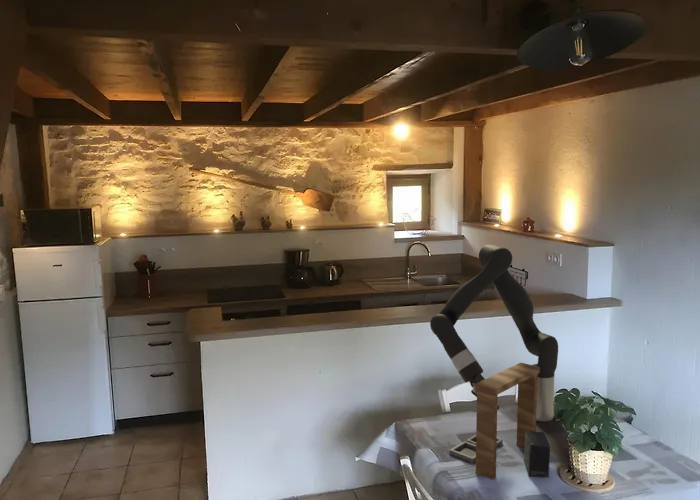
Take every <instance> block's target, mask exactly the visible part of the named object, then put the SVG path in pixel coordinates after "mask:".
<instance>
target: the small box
mask: <svg viewBox="0 0 700 500" xmlns="http://www.w3.org/2000/svg"><path fill="white" fill-rule="evenodd" d="M523 455H524V456H523V457H524V458H523V462H524V465H525V468H526V472H527V475H528V477H536V478H550V477H549V476H550V458H551V457H550V455H551V445H550V443H549V441H548V439H547V436H546V433H545V432H544V431H536V432H534V431H525V448H524V453H523Z"/></svg>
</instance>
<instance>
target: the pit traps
mask: <svg viewBox="0 0 700 500" xmlns="http://www.w3.org/2000/svg"><path fill="white" fill-rule="evenodd" d="M503 440H504V439H502V438H499V437H497V448H498V447H500V446H501V445H503ZM449 455H451V456H454V457H456V458H459V459H461V460H463V461H466V462H469V463H471V464H474V463H476V434H473V436H471V437H469V438H468V439H466V440H464V441H462V442H461V443H459V444H457V445H456V446H454V447H452V448H450V449H449Z"/></svg>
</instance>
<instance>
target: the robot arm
mask: <svg viewBox="0 0 700 500" xmlns="http://www.w3.org/2000/svg"><path fill="white" fill-rule="evenodd" d="M512 254H513V253H512V252H511V251H510V250H509V249H508V248H506V247H504V246H500V245H499V246H498V245H495V244H486V245H484V246H482V247H481V248H480V249H479V252H478V262H479V263H480V265H481V268H482V270H481V271H480V272H479V273H478V274H477V275H475V276H474V277H473V278H471V279H470V280H468V281H467V282H465V283H464V284H462V285H461V286H459V287H458V288H457V289H456V290H455V292H454V293H452V295H451V296H450V298H449V299H448V300H447V301H446V303H445V304H444V305H445V306H444V307H443V309H442V310H441V311H440V312H439V313H438V314H435V315H433V316H432V317H431V319H430V323H429V326H430V329H431V331H432V334H434V335H435V336H436V337H437V338H438V340H439V341H440V343H441V345H442V346H443V347H442V348H443V349H444V351H445V353H446V354H447V355H448V357H449V359H450V360H451V362H452V364H453V366H454V368H455V369H456V371H457V372H458V374H459V375H460V377H461V379H462V380H463V382H464V383H469V384H470V386H471V388H472V390H470V392H471V394H472V395H474V396H475V397H476V398H477V391H475V384H476V383H478V382H480V381H483V380H485V379H486V378H485V377H484V376H483V372H484V368H482V366H481V364H479V362H478V360H477V358H476V357H475V355H474V354H473V352H471V351H470V349H469V348H468V346H467V345H466V343H465V342H464V341H463V339H462V338H461V337H460V336H459V334H458V332H457V330H456V328H455V325H456V323H457V321H458V320H459V319H460V318H461V316H462V315H464V313H465V312H466V311H467V309H469V307H470V306H471V305H473V303H474V301H475V300H477V298H478V297H479V296H480V295H481V294H482V293H483V292H484V291H485V290H486V289H487V288H488V287H490V285H492V283H493V285H494V287H495V289H496V291H497V293H498V295H499V296H500V298H501V300H502V302H503V304H504V306H505V307H506V310H507V311H508V313H509V315H510V316H511V319H512V320H513V322H514V324H515V326H516V328H517V329H518V332H519V334H520V336H521V340H522V342H523V344H524V346H525V348H526V350H527V352H529V353H530V354H531V355H533V356H536V357H537V363H533V364H532V365H533V366H538V367H540V373H538V379H537V413H536V422H537V421H538V422H550V421H551V422H552V421H553V419H554V406H553V404H554V403H553V401H554V399H555V372H556V370H557V367H558V358H559V357H558V356H559V342H558V340H557V339H556V337H554V336H553V335H550V334H546V333H544V332H541V330H540V329H539V327H537V324H536V322H535V320H534V308H535V307H534V304H533V301H532V300H531V297H530V295H529V294H528V292H527V291H526V289H525V288H524V287H523V285H522V284H521V283H520V282H519V281H518V280H517V279H516V278H515V277H514V276H513V275H512V274H511V273H510V272H509V270H508V269H509V268H510V267H511V265H512V263H513V255H512ZM499 409H500V406H499V404H497V411H498V410H499Z"/></svg>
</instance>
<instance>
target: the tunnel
mask: <svg viewBox="0 0 700 500" xmlns="http://www.w3.org/2000/svg"><path fill="white" fill-rule="evenodd" d="M538 373H540V367H538V366H533V364H528V363H525V362H519V363H517V364H515V365H513V366H510V367H508V368H506V369H504V370H502V371H499V372H497V373H495V374H493V375H492V376H489V377H487V378H484V379H485V380H483V381H480V382H478V383H476V384H475V391H477V397H476V421H475V422H476V428H475V431H476V432H475V433H476V434H475V435H476V461H475V473H476V474H478V475H481V476H483V477H485V478H488V479H490V480H494V479H495V478H497V448H498V447H497V438H498V436H497V434H498V410H497V405H498V399H499V398H498V395H499V394H502V393H503V392H506V391H508V390H509V389H512V388H513V387H515V386H517V409H516V410H517V412H516V413H517V414H516V417H517V419H516V446H518V447H520V448H524V449H525V431H534V432H537V420H536V413H537V379H538Z"/></svg>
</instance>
